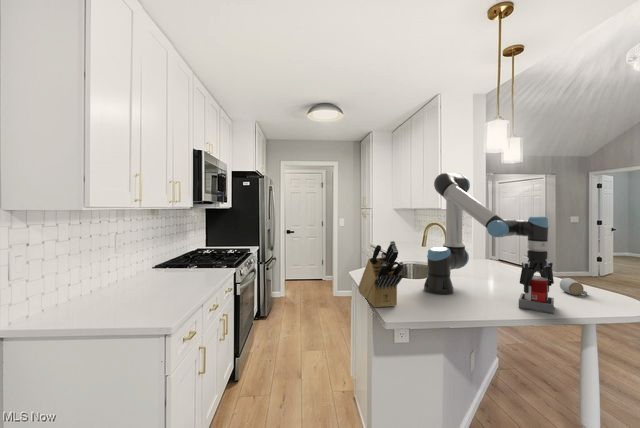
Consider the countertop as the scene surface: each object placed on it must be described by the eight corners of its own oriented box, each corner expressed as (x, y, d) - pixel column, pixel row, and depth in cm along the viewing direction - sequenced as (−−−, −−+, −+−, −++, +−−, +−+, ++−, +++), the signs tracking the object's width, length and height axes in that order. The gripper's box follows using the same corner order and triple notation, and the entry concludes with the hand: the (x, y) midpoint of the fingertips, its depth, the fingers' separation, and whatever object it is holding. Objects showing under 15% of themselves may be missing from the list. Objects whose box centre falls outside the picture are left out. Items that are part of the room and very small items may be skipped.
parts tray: (518, 308, 140) (518, 299, 140) (521, 301, 150) (521, 293, 150) (553, 314, 132) (553, 304, 132) (553, 306, 142) (553, 297, 142)
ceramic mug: (569, 295, 159) (570, 281, 159) (558, 291, 167) (559, 277, 167) (591, 296, 158) (592, 281, 158) (580, 292, 166) (580, 278, 166)
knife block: (380, 315, 130) (381, 243, 130) (357, 292, 165) (357, 235, 164) (405, 314, 132) (406, 242, 131) (377, 291, 167) (378, 234, 166)
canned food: (550, 304, 136) (551, 279, 136) (530, 303, 138) (531, 278, 138) (541, 299, 144) (542, 275, 144) (522, 298, 146) (523, 274, 145)
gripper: (523, 251, 135) (522, 302, 136) (565, 250, 138) (563, 301, 139) (510, 249, 143) (509, 297, 143) (550, 248, 145) (549, 296, 146)
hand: (536, 299), depth 141 cm, fingers closed on canned food, 8 cm apart
